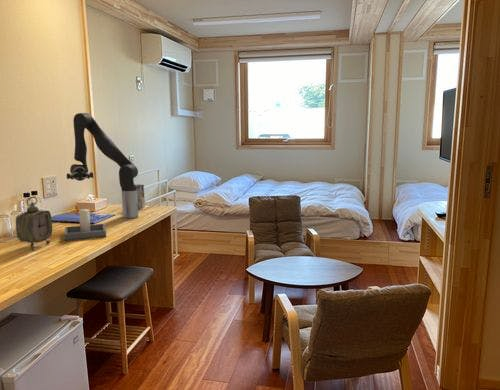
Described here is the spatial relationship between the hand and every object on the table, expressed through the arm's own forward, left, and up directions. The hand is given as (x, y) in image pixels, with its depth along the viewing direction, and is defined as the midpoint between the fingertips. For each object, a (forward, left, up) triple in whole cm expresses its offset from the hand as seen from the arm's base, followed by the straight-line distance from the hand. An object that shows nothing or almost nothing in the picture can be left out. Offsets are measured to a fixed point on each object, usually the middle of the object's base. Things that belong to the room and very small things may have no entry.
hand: (80, 177), depth 231 cm
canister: (-1, +18, -28) cm, 33 cm away
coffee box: (-36, -36, -29) cm, 59 cm away
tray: (-1, +18, -29) cm, 34 cm away
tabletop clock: (+22, +31, -29) cm, 48 cm away
